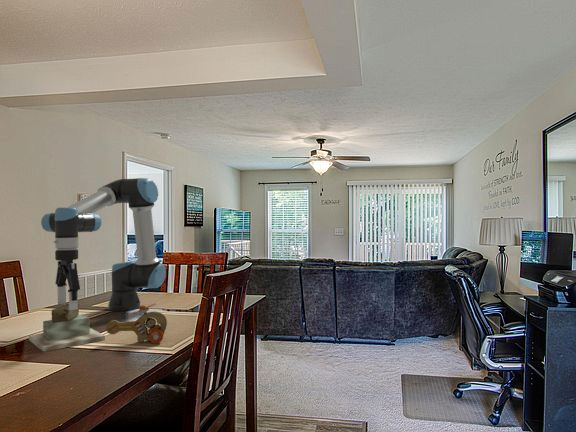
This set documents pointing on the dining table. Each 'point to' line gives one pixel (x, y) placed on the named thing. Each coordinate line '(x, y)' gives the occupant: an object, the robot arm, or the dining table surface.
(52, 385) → the dining table surface
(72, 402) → the dining table surface
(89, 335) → the tower base
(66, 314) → the stone block
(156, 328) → the toy helicopter
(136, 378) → the dining table surface
